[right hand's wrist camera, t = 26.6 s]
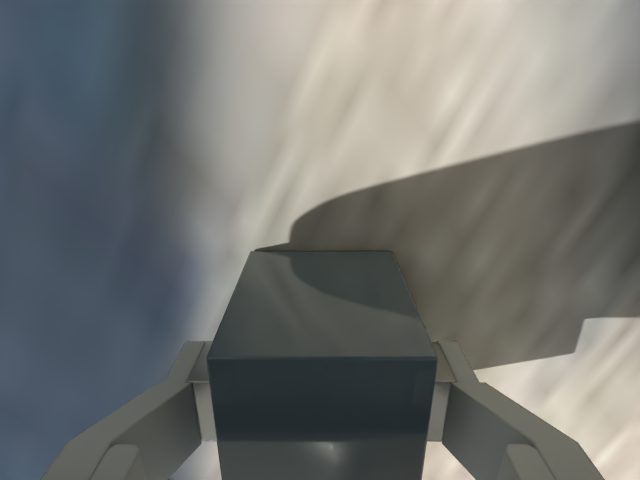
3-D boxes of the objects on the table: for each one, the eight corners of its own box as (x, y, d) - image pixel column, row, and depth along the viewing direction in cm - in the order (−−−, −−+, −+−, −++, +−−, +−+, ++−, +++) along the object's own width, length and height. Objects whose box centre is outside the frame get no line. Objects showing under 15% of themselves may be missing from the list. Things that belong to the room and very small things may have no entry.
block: (382, 386, 13) (413, 540, 9) (259, 386, 13) (228, 540, 9) (392, 250, 11) (439, 358, 7) (249, 250, 11) (204, 358, 7)
